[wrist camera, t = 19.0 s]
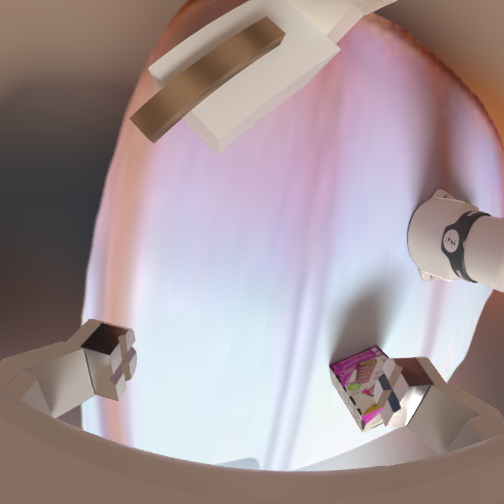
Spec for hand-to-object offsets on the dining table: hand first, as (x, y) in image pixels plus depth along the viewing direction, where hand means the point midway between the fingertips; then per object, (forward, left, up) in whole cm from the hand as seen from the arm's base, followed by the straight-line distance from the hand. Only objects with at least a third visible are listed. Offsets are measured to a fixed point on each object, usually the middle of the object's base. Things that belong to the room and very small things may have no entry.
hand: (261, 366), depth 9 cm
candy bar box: (-29, +24, -38) cm, 54 cm away
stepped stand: (-3, -26, -38) cm, 46 cm away
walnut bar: (+4, -17, -23) cm, 29 cm away
